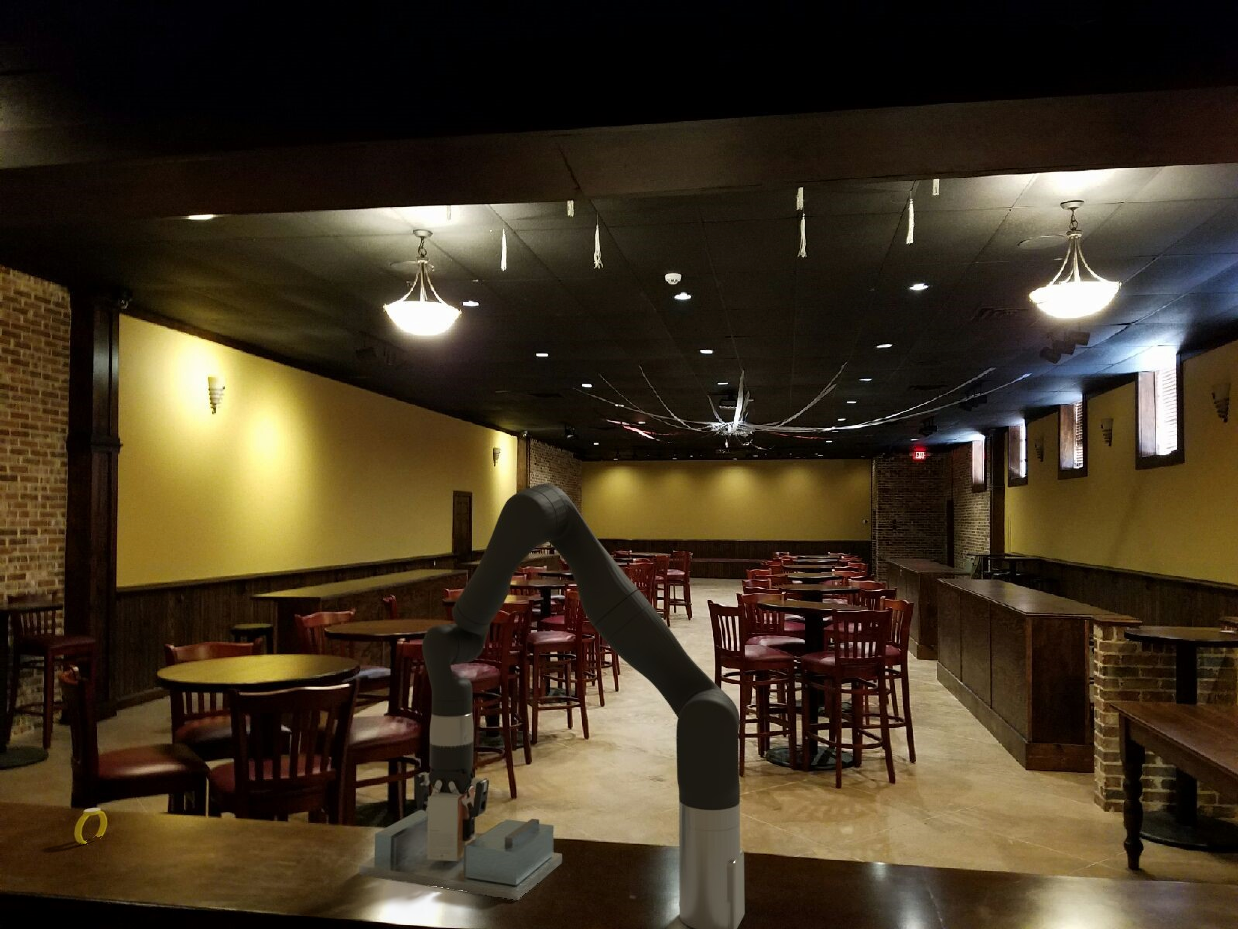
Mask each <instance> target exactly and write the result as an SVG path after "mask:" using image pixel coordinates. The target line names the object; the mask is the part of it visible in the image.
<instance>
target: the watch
mask: <svg viewBox="0 0 1238 929" xmlns="http://www.w3.org/2000/svg"><path fill="white" fill-rule="evenodd" d="M96 815H97V816H98V817H99V819H100V820H99V828H98V830H97V833H96V834H95V835H94V837H95V836H97V837H100V836H102V837H103V836H104V834H105V832H106V830H107V828H108V827H107V826H108V818H107V816H106V813H105V812H104V811H102V810H101V807H92V808H87V809H86V808H85V810H83V814H82V815H81V816H80V817H79V819H78V821H77V822H76V824H75V827H74V838H75V841H76V843H78V844H80V843H81V844H80V845H83V844H86V843H87V842H86V841H87V840H84V838H83V836H82V831H83V826H84V824H85V822H86V821H87V819H88V818H89V817H90V816H96Z"/></svg>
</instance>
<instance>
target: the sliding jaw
mask: <svg viewBox="0 0 1238 929" xmlns="http://www.w3.org/2000/svg"><path fill="white" fill-rule="evenodd" d="M553 853H554V824H553V825H552V824H546V823H540V819H538V818H531V819H529V820H528V821H523V820H515V819H508V818H507V819H505V820H503V821H500V822H499V823H497V824H496V825H494V826H493V827H491V828H489V829H488V830H487V831H485V832H484V833H482V834H481V835H478V837H475V839H474V838H473V841H471V842H470V843H468V844H467V845H465V846H464V854H463V875H464V876H466V877H468V878H474V879H481V880H487V881H493V882H500V883H506V884H512V885H517V884H518V883H520V882H521V881H522V880H523V879H525V878H526V877H527V876H528V875H529V874H531V873H532V872H533V871H534V870H535V869H537V868H538V867H539V866H540V865H542V864H543V863H544V862H545V861H546V860H548V859H549V858H550V857H551V856H552V855H553Z"/></svg>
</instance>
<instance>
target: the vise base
mask: <svg viewBox="0 0 1238 929" xmlns="http://www.w3.org/2000/svg"><path fill="white" fill-rule="evenodd" d="M561 864H563V853H558V852H553V855H552V856H551V857H550V858H549V859H548V860H546V861H545V862H544V863H543V864H542V865H540V866H539V867H538V868H537V869H535V870H534V871H533V872H532V873H531V874H529V875H528V876H527V877H526V878H525V879H523V880H522V881H521V882H520V883H518V884H517V885H512V884H506V883H500V882H493V881H487V880H481V879H474V878H468V877H466V876H464V875H463V856H462V857H461V858H460V859H459V860H458V861H445V860H428V859H427V814H426V812H425V811H423V810H417V811H414V813H411V814H410V815H408V816H406V817H403V818H402V819H401V820H398V821H396V822H394V823H393V824H391V825H389V826H387V827H385V828H384V829H381V830H380V831H379V830H378V832H376V833H374V856H373V857H372V858H370V859H368V860H366V861H364V862H362V863H361V864H359V865H358V875H359V876H364V877H365V876H366V877H370V876H373V877H372V878H376V879H377V878H378V879H384V880H388V879H390V881H394V880H396V882H402V883H408V884H414V885H419V886H420V885H421V886H425V887H431V886H437V887H443V888H449V889H454V890H453V891H455V890H463V891H467V892H470V893H469V894H473V893H477V894H476V895H479V894H482V896H485V895H487V896H486V897H491V896H492V898H497V897H502V898H501V899H504V898H507V899H506V900H510V899H513V900H512V901H516V900H518V901H520V900H521V898H523V897H524V896H525V895H526V894H527V893H528V892H530V891H531V890H532V889H533V888H534V887H536V886H537V885H538V884H539V883H540V882H541V881H542V880H544V879H545V878H546V877H547V876H548V875H549V874H550V873H552V872H553V871H555V869H556V868H557V867H558V866H560V865H561ZM537 883H538V884H537ZM437 887H436V888H437ZM443 888H442V889H443ZM449 889H448V890H449ZM529 890H530V891H529ZM467 892H466V893H467ZM525 893H526V894H525ZM524 894H525V895H524ZM523 895H524V896H523ZM522 896H523V897H522ZM520 897H521V898H520Z"/></svg>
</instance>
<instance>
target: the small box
mask: <svg viewBox="0 0 1238 929" xmlns="http://www.w3.org/2000/svg"><path fill="white" fill-rule="evenodd" d="M470 792H471V794H472V797H473V804H474V797H475V792H474V791H473V785H472V786H471V787H470ZM467 797H468V792H467V793H466V794H461V795H460V796H459V795H453V793H443V792H440V793H435V794H433V795H430V796H429V797H428V825H427V859H428V860H445V861H458V860H459V859H460V858H461V857H462V856H463V854H464V846H465V845H467V844H468V843H470V842H471V841H473V840H474V836H473V837H472V838H471V839H470V840H469V841H467V842H466V841H463V839H462V837H463V819H464V817H463V807H462V804H461V800H462V798H463V799H464V800H465V799H467Z"/></svg>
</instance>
